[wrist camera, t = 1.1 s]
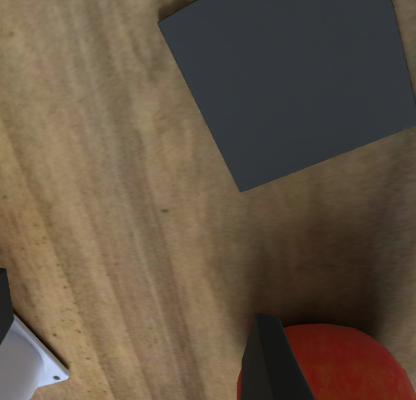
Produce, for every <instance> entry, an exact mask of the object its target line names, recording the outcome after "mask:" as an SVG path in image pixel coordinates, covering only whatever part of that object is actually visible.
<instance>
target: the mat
mask: <svg viewBox="0 0 416 400" xmlns="http://www.w3.org/2000/svg"><path fill="white" fill-rule="evenodd" d="M157 24H158V26H159V28H160V30H161V32H162V34H163V36H164V38H165V40H166V42H167V44H168V46H169V48H170V50H171V52H172V54H173V57H174V59H175V61H176V63H177V65H178V67H179V69H180V71H181V73H182V75H183V77H184V79H185V81H186V83H187V85H188V87H189V89H190V91H191V93H192V95H193V97H194V99H195V101H196V103H197V105H198V107H199V109H200V111H201V113H202V115H203V117H204V120H205V122H206V124H207V126H208V128H209V130H210V132H211V134H212V136H213V138H214V140H215V142H216V144H217V146H218V148H219V150H220V152H221V154H222V156H223V158H224V160H225V162H226V164H227V166H228V168H229V170H230V172H231V174H232V176H233V178H234V180H235V183H236V185H237V187H238V189H239V191H240V192H244V191H246V190H249V189H252V188H254V187H257V186H259V185H262V184H265V183H267V182H270V181H272V180H275V179H278V178H280V177H283V176H285V175H288V174H290V173H293V172H296V171H298V170H301V169H303V168H306V167H309V166H311V165H314V164H316V163H319V162H322V161H324V160H327V159H329V158H332V157H334V156H337V155H340V154H342V153H345V152H347V151H350V150H353V149H355V148H358V147H360V146H363V145H366V144H368V143H371V142H373V141H376V140H378V139H381V138H384V137H386V136H389V135H391V134H394V133H397V132H399V131H402V130H404V129H407V128H410V127H412V126H415V125H416V103H415V99H414V95H413V90H412V86H411V82H410V77H409V73H408V69H407V64H406V60H405V55H404V51H403V47H402V42H401V38H400V34H399V29H398V25H397V20H396V16H395V12H394V7H393V3H392V0H196V1H194V2H192V3H190V4H189V5H187V6H185V7H183V8H182V9H180V10H178V11H176V12H175V13H173V14H171V15H170V16H168V17H166V18H164V19H163V20H161V21H159V22H158V23H157Z"/></svg>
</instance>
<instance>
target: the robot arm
mask: <svg viewBox="0 0 416 400" xmlns="http://www.w3.org/2000/svg"><path fill="white" fill-rule="evenodd" d="M69 375H70V373H69V371H68V370H67V369H66V368H65V367H64V366H63V365H62V363H61V362H60V361H59V360H58V359H57V358H56V357H55V356H54V355H53V354H52V353H51V352H50V351H49V350H48V349H47V348H46V347H45V346H44V345H43V344H42V342H41V341H40V340H39V339H38V338H37V337H36V336H35V335H34V334H33V333H32V332H31V331H30V330H29V329H28V328H27V327H26V326H25V325H24V324H23V323H22V321H21V320H20V319H19V318H18V317H17V316H16V315H15V314H14V313H13V308H12V302H11V296H10V290H9V284H8V278H7V272H6V269H4V268H0V400H30V399H31V397H32V395H33V393H34V391H35V390H36V388H37V387H41V386H44V385H48V384H52V383H56V382H60V381H63V380H66V379H68V377H69ZM240 400H316V399H315V397H314V395H313V393H312V391H311V389H310V387H309V385H308V383H307V381H306V379H305V377H304V375H303V373H302V370H301V368H300V366H299V364H298V362H297V360H296V357H295V355H294V353H293V351H292V348H291V346H290V344H289V341H288V339H287V336H286V334H285V331H284V329H283V326H282V324H281V321H280V319H279V318H278V316H275V315H269V314H263V313H257V312H256V314H255V317H254V321H253V324H252V327H251V331H250V334H249V338H248V341H247V345H246V348H245V351H244V355H243V358H242V370H241V388H240Z"/></svg>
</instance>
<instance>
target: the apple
mask: <svg viewBox="0 0 416 400" xmlns="http://www.w3.org/2000/svg"><path fill="white" fill-rule="evenodd" d="M283 329H284V331H285V334H286V336H287V339H288V341H289V344H290V346H291V348H292V351H293V353H294V355H295V357H296V360H297V362H298V364H299V366H300V368H301V370H302V373H303V375H304V377H305V379H306V381H307V383H308V385H309V387H310V389H311V391H312V393H313V395H314V397H315V399H316V400H416V394H415V391H414V389H413V387H412V385H411V382H410V380H409V378H408V376H407V373H406V371H405V370H404V369H403V368H402V367H401V365H400V364H399V363H398V362H397V361H396V360H395V358H394V357H393V356H392V355H391V354H390V352H389V351H388V350H387V349H386V348H385V347H384V346H383V345H381V344H380V343H378V342H377V341H376V340H374V339H373V338H372V337H370V336H369V335H367V334H366V333H364V332H362V331H359V330H357V329H355V328H352V327H346V326H340V325H333V324H327V323H323V324H301V325H294V326H290V327H285V328H283ZM241 370H242V369H241ZM240 388H241V371H240V374H239V377H238V382H237V400H240Z"/></svg>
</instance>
